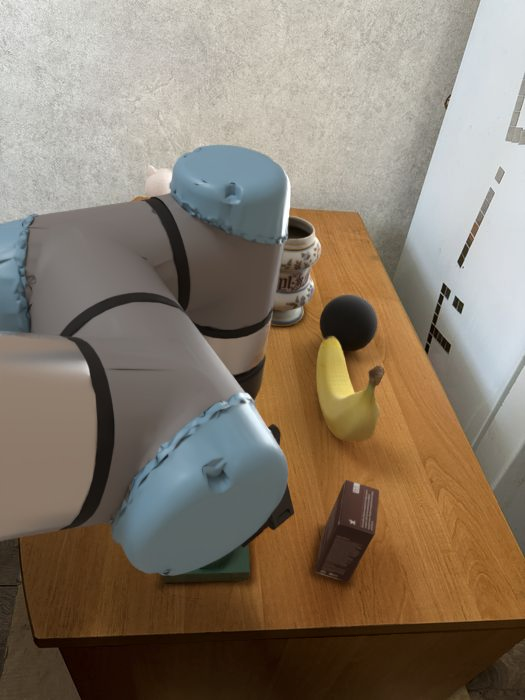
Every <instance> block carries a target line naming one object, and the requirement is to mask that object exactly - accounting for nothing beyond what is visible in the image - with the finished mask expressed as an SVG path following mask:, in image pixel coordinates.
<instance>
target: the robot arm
mask: <svg viewBox="0 0 525 700" xmlns="http://www.w3.org/2000/svg"><path fill="white" fill-rule="evenodd" d="M172 171H173V173H172V180H171V182H170V183H169V184H170V187H169V189H170V191H171V192H170V193H168V194H165V195H158V196H152V197H150V198H147V199H145V198H144V199H141V200H140V199H138V200H131V201H125V202H118V203H111V204H110V203H109V204H105V205H98V206H91V207H84V208H83V207H82V208H76V209H70V210H63V211H56V212H49V213H42V214H37V213H31V214H28V215H27V216H26V217H24V218H19V219H16V220H11V221H7V222H2V223H1V222H0V542H3V541H7V540H13V539H18V538H19V539H20V538H25V537H31V536H36V535H41V534H42V535H43V534H47V533H53V532H58V531H64V530H68V529H70V530H72V529H73V530H74V529H80V528H86V527H93V526H98V525H104V524H106V525H107V524H108V525H110V532H111V537H112V541H113V542H114V543H115V544H119V545H120V547H121V549H122V550H123V552H124V554H125V556H126V558H127V560H128V561H129V563H130V564H131V565H132V567H134V568H135V569H136V570H137V571H141V572H143V573H145V574H146V575H150V574H159V575H161V576H163V575H170V576H173V575H179V574H183V573H187V572H190V571H193V570H196V569H198V568H201V567H203V566H206V565H208V564H210V563H212V562H214V561H216V560H218V559H220V558H221V557H223V556H225V555H226V554H228V553H230V552H231V551H233V550H234V549H236V548H237V547H238V546H240V545H241V546H242V547H243V548H244V547H245V546H247V545H250V543H252V542H253V541H254V540H256V538H258V537H259V536H260V535H262V533H264V531H265V530H266V529H268V528H269V529H270V530H271V531H275V530H276V529H278V528H279V527H280V526H281V525H283V524H284V523H285V522H287V520H289V519H290V518H291V517H292V516H293V515H295V509H294V505H293V501H292V496H291V492H290V487H289V483H288V481H289V467H288V462H287V457H286V455H285V453H284V451H283V450H282V448H281V437H282V436H281V434H282V433H281V430H280V428H279V427H278V426H277V425H276V424H275V423H272V424H270V425H269V426H267V424H266V422H265V421H264V419H263V418H262V416H261V414H260V413H259V411H258V409H257V404H256V402H255V400H256V398H257V396H258V394H259V393H260V390H261V387H262V383H263V377H264V371H265V365H266V359H267V358H266V357H267V356H266V355H267V354H266V353H267V350H268V344H269V337H270V331H271V326H272V325H271V319H272V313H273V306H274V301H275V296H276V290H277V285H278V279H279V274H280V269H281V263H282V258H283V252H284V247H285V242H286V240H287V238H288V229H287V227H288V218H289V216H290V207H291V183H290V179H289V176H288V173H287V171H285V169H284V168H283V166H282V165H280V164H279V163H277V162H276V161H274V160H273V158H272V157H270V156H268V155H267V154H265V153H262V152H259V151H257V150H254V149H252V148H249V147H244V146H238V145H233V144H232V145H230V144H210V145H209V144H208V145H204V146H198V147H196V148H194V149H193V151H189V152H185V153H183V154H182V155H180V156H179V157H178V158H177V160H175V163H174V165H173V168H172Z"/></svg>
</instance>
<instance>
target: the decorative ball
mask: <svg viewBox="0 0 525 700" xmlns="http://www.w3.org/2000/svg"><path fill="white" fill-rule="evenodd" d="M319 317H320V318H319V329H320V334H321V336H322V337H323V340H324V339H325V338H326V337H327V336H335V337H336V339H337V340H338V341H339V343H340V345H341V348H342V351H343V352H344V353H345V352H346V353H347V352H348V353H350V352H357V351H359V350H361V349H363V348H365V347H367V346H368V345H369V344H370V343H371V342H372V340H373V339H374V338H375V336H376V333H377V330H378V324H379V323H378V316H377V313H376V310H375V308H374V307H373V306H372V304H371V303H370V302H369V301H368V300H367V299H365V298H364V297H362V296H359V295H355V294H342V295H338V296H336V297H334V298H332V299H331V300H330V301H329V302H328V303H326V304H325V306H324V308H323V309H322V311H321V314H320V316H319Z"/></svg>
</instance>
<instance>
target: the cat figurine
mask: <svg viewBox="0 0 525 700" xmlns="http://www.w3.org/2000/svg"><path fill="white" fill-rule="evenodd" d="M146 170H147V171H146V173H147V174H146V175H147V178H146V180H145V185H144V192H145V195H146V197H147V199H149V198H150V197H152V196H158V195H165V194H168V193H170V192H171V191H170V189H169V187H170V184H169V183H170V182H171V180H172V173H173V169H170V168H166V167H164V168H163V167H161V168H156V167H155V166H153V165H151V164H148V166H147V169H146Z"/></svg>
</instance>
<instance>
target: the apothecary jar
mask: <svg viewBox="0 0 525 700" xmlns="http://www.w3.org/2000/svg"><path fill="white" fill-rule="evenodd" d="M287 229H288V238H287V240H286V242H285V247H284V252H283V258H282V263H281V269H280V274H279V279H278V285H277V290H276V296H275V301H274V306H273V313H272V319H271V326H273V327H289V326H293V325H295V324H297V323H299V321H301V319H302V318H303V316H304V312H305V311H304V306H305V305H307V304H308V303H309V302H310V301H311V300H312V298H313V296H314V295H315V294H314V293H315V284H314V280H313V279H312V277H311V269H312V266H314V265H315V264H317V262H318V261H319V260H320V257H321V254H322V245H321V242H320V241H319V239H318V238H317V236H316V230H315V227H314V225H313V224H312V223H311V222H309V221H308V220H306V219H304V218H302V217H299V216H295V215H289V218H288V227H287Z"/></svg>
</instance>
